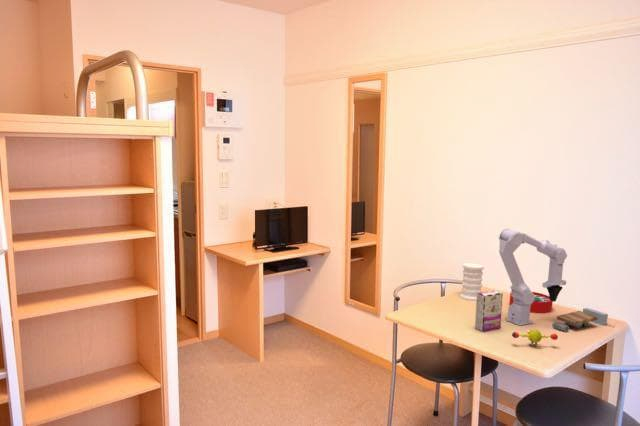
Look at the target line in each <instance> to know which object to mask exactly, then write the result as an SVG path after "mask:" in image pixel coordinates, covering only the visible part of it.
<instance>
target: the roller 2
mask: <svg viewBox="0 0 640 426" xmlns="http://www.w3.org/2000/svg"><path fill="white" fill-rule="evenodd" d="M564 324H565V325H568V326H569V327H571V328H575V329H577V330H579V329H580V330H581V328H583V326H582V324H579V325H572V324H569V323H566V322H564Z"/></svg>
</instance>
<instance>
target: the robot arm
mask: <svg viewBox="0 0 640 426" xmlns="http://www.w3.org/2000/svg"><path fill="white" fill-rule="evenodd" d="M498 240H499V251H498V252H499V255H500V258H501V261H502V263H503V266H504V268H505V270H506V273H507V276H508V278H509V281H510V283H511V286H510V289H511V290H510V291H511V292H510V293H511V295H512V297H513V301H514V302H513V304H512V305H508V309H507V318H506V319H505V321H508V322H509V323H513V324H516V325H517V326H524V325H529V324H533V323H534V321H533V320H530V315H531V313H530V305H531V304H532V303H533V301H534V299H535V296H534V294H533V293H532V292H533V291H531V289H530V287H529V286H528V285H527V284H526V283H525V280H524V278H523V276H522V273H521V270H520V267H519V266H518V263H517V260H516V257H515V255H514V252H516V250H517V249H519V247H520V246H521V245H522V244H523V245H524V244H528V245H530V246H533V247H535V249H536V251H537V252H539V253H541V254H543V255H545V256H547V257H548V258H549V262H548V263H549V265H548V275H547V280H546V281H545V282H542V285H541V286H542V288H546V289H547V292H548V296H549V297H550V301H553V302H556V301H557V299H558V296H559V294H560V292H561V291H562V289H563V286H565V285H567V280H565V279H562V278H563V271H564V270H563V269H564V263H565V260H566V259H567V257H568V254H567V252H566V250H565V249H564V248H561V247H558V245H557V244H553V243H551V242H550V241H549V240H548V239H545V240H544V239H541V240H538V239H536V238H534V237H532V236H530V235H529V234H526V233H524V232H520V231H516V230H511V229H509V228H504V229H503V230H501V231H500V233H499V235H498Z"/></svg>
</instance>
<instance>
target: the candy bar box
mask: <svg viewBox="0 0 640 426" xmlns="http://www.w3.org/2000/svg"><path fill="white" fill-rule="evenodd" d="M503 294H504V292H502V291H499V290H496V289H495V290H488V291H481V293H477V301H475V302H476V305H475V306H476V307H475V321H474V322H475V323H474V324H475V325H474V329H475V330H477V331H480V332H482V333H485V332H488V331H494V330H498V329H501V327H502V326H501V324H502V323H501V322H502V309H503Z"/></svg>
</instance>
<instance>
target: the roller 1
mask: <svg viewBox="0 0 640 426" xmlns="http://www.w3.org/2000/svg"><path fill="white" fill-rule="evenodd" d="M551 326H552V328H553V329H556V330H558V331H560V332H564V333H567V332H569V330H570V326H568V325H566V324H565V323H561V322H558V321H553V323H552V325H551Z"/></svg>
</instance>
